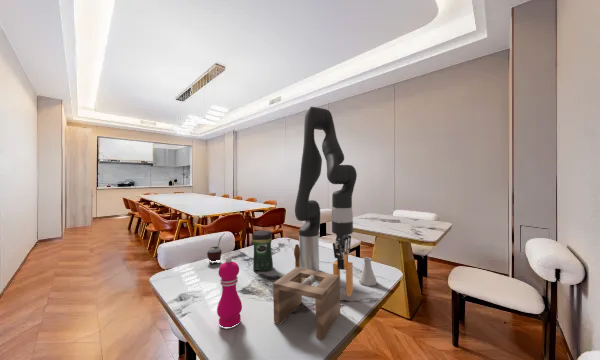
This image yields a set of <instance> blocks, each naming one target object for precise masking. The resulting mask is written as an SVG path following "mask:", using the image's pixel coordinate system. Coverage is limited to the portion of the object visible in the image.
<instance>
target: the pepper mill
mask: <svg viewBox="0 0 600 360" xmlns="http://www.w3.org/2000/svg"><path fill="white" fill-rule="evenodd" d="M218 268H219V269H218V275H219V278H220V279H219V280H220V285H221V288H222V289H221V291H222V293H221V297H220V298H219V302H218V303H217V309H216V314H217V316H218V317H219V318H218V325H219V324H220V325H221V326H223V327H232V326H234V325H236V324H238V323H239V322H240V323H241V321H240V320H241V316H242V315H241V312H242V309H243V304H242V301H241V298H240V296H239V294H238V291H237V283H238V281H239V280H238V275H239V273H240V267H239V264H238V263H237V262H235V261H233V260H232V256H226V258H225V262H223V263H221V264H220V266H219V267H218ZM240 323H239V324H240Z"/></svg>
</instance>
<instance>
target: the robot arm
mask: <svg viewBox="0 0 600 360" xmlns="http://www.w3.org/2000/svg"><path fill="white" fill-rule="evenodd" d="M304 114H305V115H304V122H303V123H304V127H303V129H304V130H303V148H302V154H301V155H302V157H301V164H300V177H299V183H298V191H297V194H296V195H297V196H296V200H295V205H294V215H295V218H296V220H297V221H299V222H305V223H304V225H302V226H301V227H300V228H298V229H299V230H298V242H299V243H298V245H299V248H300V257H299V268H303V269H308V270H313V271H319V272H320V249H319V248H320V246H319V245H320V244H319V241H320V240H319V231H320V228H321V207H320V204H319V203H318V202H317V201H316V200H314V199H312V200H310V194H311V192H312V189H313V188H314V187H315V185H316V183H317V181H318V180H319V178H320V176H321V173H322V164H323V159H322V155H321V152H320V151H319V148H318V146H317V144H316V140H315V130H318V131H319V130H320V131H323V132H324V134H325V135H324V138H323V140H322V144H321V150H322V153H323V156H324V159H325V162H326V177H327V180H328V182H329V183H331V184H332V185H342V188H341V189H339V190H335V191H333V192H332V197H331V198H332V208H331V232H332V233H333V234H335V236H336V238H335V242H333V243H332V249H333V256H334V259H336V260H337V268H338V269H340V271H342V270H343V269H344V253H345V254H347V262H349V252H351V245H352V244H351V243H352V236H351V234H353V233H354V220H353V219H354V216H353V215H354V214H353V213H354V212H353V200H352V199H353V193H354V189H355V185H356V181H357V177H358V176H357V175H358V174H357V170H356V168H355V167H354V166H353V165H352V164H342V163H343V162H344V161H345V155H344V152H343V150H342V148H341V145H340V143H339V140H338V137H337V133H336V128H335V127H336V126H335V123H334V120H333V115H332V113H331V111H330V110H329V109H327V108H323V107H318V106H309V107H307V109H306V111H305V113H304Z"/></svg>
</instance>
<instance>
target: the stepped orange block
mask: <svg viewBox="0 0 600 360" xmlns="http://www.w3.org/2000/svg"><path fill="white" fill-rule="evenodd" d="M353 267H354V266H353V262H351V261H348V262H347V254H345V253H344V269H343V270H344V271H345V282H346V283H345V293H346V295H345V296H346V297H350V296H351V295H352V294H353V292H354V287H353V285H354V284H353V283H354V282H353V281H354V276H353V275H354V274H353V273H354V272H353V271H354V270H353ZM332 268H333V269H332V270H333V271H332V274H334V275H340V276H341V269H338V268H337V259H336V260H335V261H334V262H333V264H332Z"/></svg>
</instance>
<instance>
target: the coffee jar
mask: <svg viewBox="0 0 600 360" xmlns="http://www.w3.org/2000/svg"><path fill="white" fill-rule="evenodd" d="M251 238H252V239H251V241H252V244H253V257H252V259H253V261H252V263H253V264H252V269H253V271H255V270H259V271H258V272H264V271H265V272H266V271H271V270H272V269H273V267H274V263H273V262H274V261H273V255H272V240H273V235H272V231H271V230H255V231H253V233H252V237H251Z"/></svg>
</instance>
